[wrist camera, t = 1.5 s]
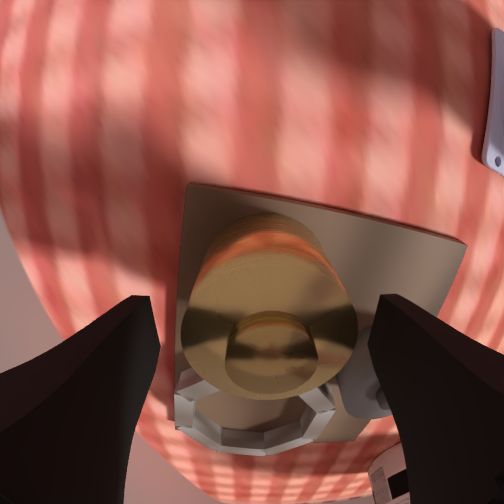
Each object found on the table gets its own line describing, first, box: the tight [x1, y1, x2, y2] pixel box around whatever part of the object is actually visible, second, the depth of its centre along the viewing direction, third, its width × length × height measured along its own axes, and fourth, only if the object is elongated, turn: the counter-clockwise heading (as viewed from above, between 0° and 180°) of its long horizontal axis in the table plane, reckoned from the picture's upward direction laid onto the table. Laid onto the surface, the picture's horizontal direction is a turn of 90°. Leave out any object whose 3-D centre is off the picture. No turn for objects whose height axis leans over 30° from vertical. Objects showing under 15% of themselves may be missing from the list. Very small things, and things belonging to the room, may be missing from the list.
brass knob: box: [180, 213, 358, 400], centre depth 10 cm, size 5×5×5 cm
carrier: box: [174, 183, 468, 456], centre depth 13 cm, size 13×16×4 cm
